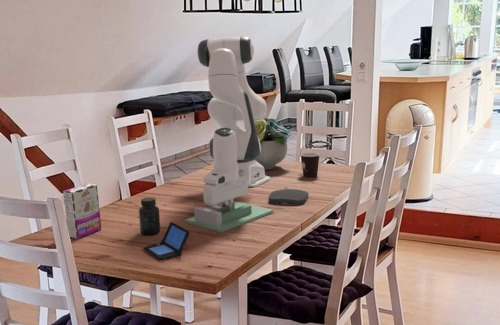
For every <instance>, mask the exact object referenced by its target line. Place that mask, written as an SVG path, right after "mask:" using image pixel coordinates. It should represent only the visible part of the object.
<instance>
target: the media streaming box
mask: <svg viewBox="0 0 500 325" xmlns="http://www.w3.org/2000/svg"><path fill="white" fill-rule="evenodd" d="M308 200H309V192H308V191H305V190H301V189H290V188H286V189H278V190H277V189H276V190H273V191H271V192H270V193H269V195H268V203H270V204H272V205H281V206H282V205H283V206H300V205H304V204H305V203H307V201H308Z"/></svg>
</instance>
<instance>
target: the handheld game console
mask: <svg viewBox="0 0 500 325" xmlns="http://www.w3.org/2000/svg"><path fill="white" fill-rule="evenodd" d="M189 237H190V231H189V230H188V229H186V228H184V227H182V226H181V225H178V223H177V224H176V223H175V222H173V221H172V222H169V224H168V227H167V229H166V231H165V233H164V235H163V237H162V240H160V242H158V243H154V244H153V243H152V244H150V245H146V246H143V247H142V248H143V250H142V251H144V250H145V251H144V252H146V253H147V252H148V254H149V255H150V254H151V255H150V256H152V257H153V256H154V258H155V259H156V258H157V260H158V259H159V260H158V261H160V260H164V259H168V260H170V259H169V258H171V259H173V258H172V257H175V258H177V256H179V257H181V255H182V254H183V253H182V252H183V250H184V248H185V245H186V243H187V241H188V238H189ZM164 261H165V260H164Z"/></svg>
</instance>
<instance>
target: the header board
mask: <svg viewBox="0 0 500 325" xmlns="http://www.w3.org/2000/svg"><path fill="white" fill-rule="evenodd" d="M193 211H194V216H193V217H189V218H186V219H184V223H186V224H190V225H193V226H197V227H200V228H203V229H207V230H212V231H215V232H218V233H223V232H227V231H229V230H231V229H234V228H237V227H239V226H242V225H245V224H248V223H250V222H252V221H255V220H257V219H259V218H263V217H265V216H268V215H270V214H273V213H274V212H275V210H274V209H271V208H266V207H262V206H257V205H254V204H249V203H245V202H240V201H236V202H235V201H234V200H233V203H232V206H231V210H230V211H227V212H224V213H222V214H221V212H218V211H214V210H212V209H208V207H202V206H198V207H194V208H193Z"/></svg>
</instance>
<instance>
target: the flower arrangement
mask: <svg viewBox="0 0 500 325" xmlns="http://www.w3.org/2000/svg"><path fill="white" fill-rule="evenodd" d="M254 123H255V128H256V132H257V135H258V138H259V141H260V144H261V151H260V155H259V156H258V157H257V158H256V159H254V160H255V161H257V162H258V163H259V164H261V165H262V166H263V167H264V170H273V169H274V168H275V167H276V165H278V164H279V163H281V162H282V161H283V160H284V159H285V158H286V156H287V153H288V139H292V138H295V136H294V135H293V134H292V131H291V130H288V129H287V128H286V127H284V123H283V122H282V121H280V123H279V122H278V121H277V119H274V118H264V117H263V119H260V120H256V121H254ZM243 129H244V130H245V127H244V128H243Z"/></svg>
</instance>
